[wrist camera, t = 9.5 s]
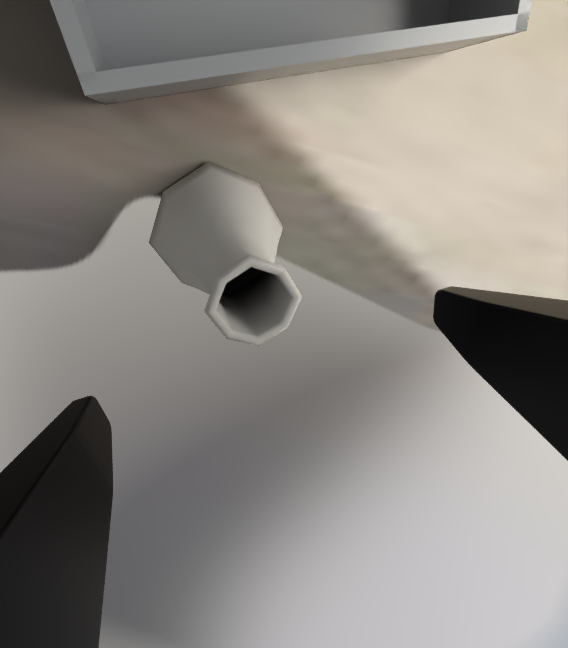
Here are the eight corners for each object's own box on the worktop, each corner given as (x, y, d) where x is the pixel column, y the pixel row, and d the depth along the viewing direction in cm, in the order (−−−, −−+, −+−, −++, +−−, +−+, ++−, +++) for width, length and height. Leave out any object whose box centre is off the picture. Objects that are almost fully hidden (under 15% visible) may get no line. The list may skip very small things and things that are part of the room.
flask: (124, 244, 19) (94, 332, 11) (204, 132, 18) (239, 135, 9) (228, 311, 23) (265, 415, 15) (301, 223, 22) (388, 282, 13)
